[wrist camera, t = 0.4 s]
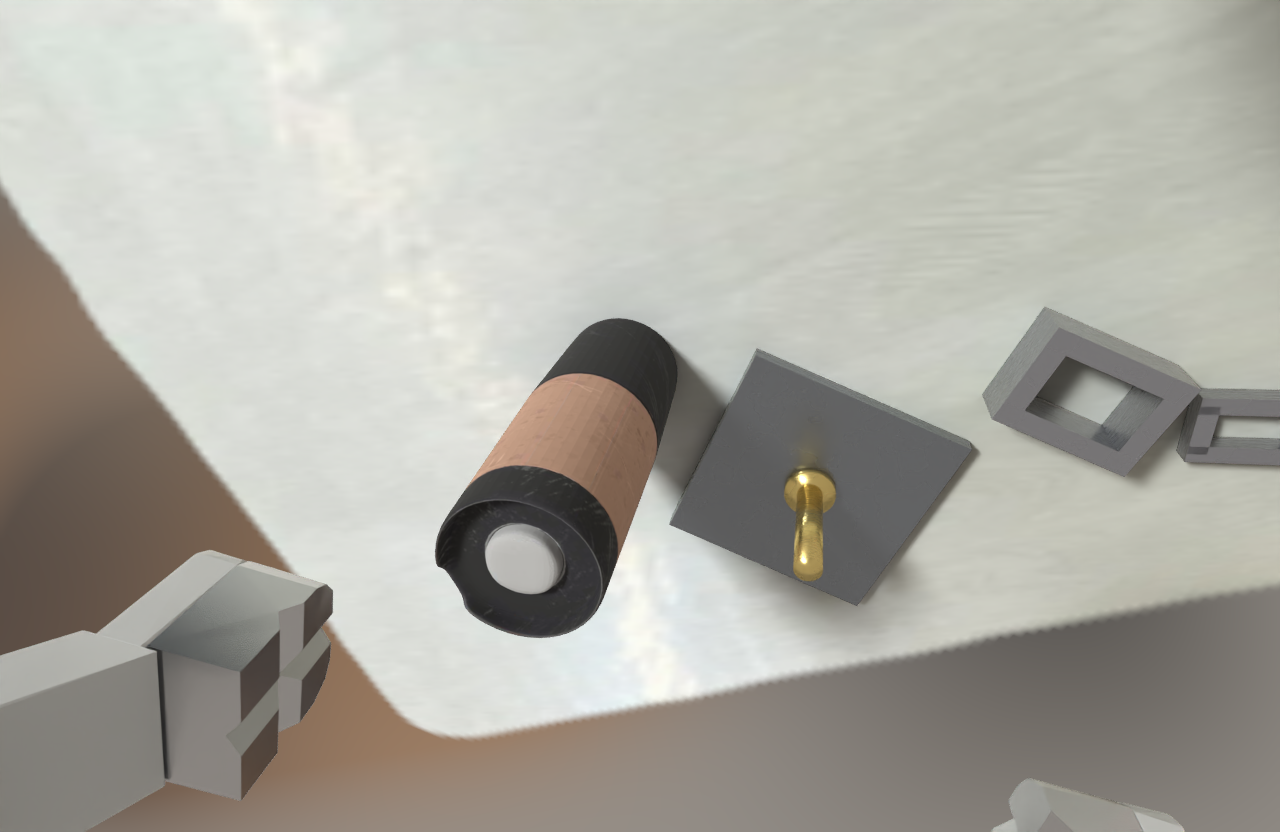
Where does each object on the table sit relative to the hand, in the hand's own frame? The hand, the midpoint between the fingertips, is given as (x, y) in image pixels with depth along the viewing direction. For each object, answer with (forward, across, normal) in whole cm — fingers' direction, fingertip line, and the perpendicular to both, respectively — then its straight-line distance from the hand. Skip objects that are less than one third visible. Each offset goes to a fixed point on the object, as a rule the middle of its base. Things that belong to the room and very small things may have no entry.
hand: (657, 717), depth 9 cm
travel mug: (+40, +5, +11) cm, 41 cm away
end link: (+38, -20, +4) cm, 43 cm away
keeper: (+40, -8, +16) cm, 43 cm away
